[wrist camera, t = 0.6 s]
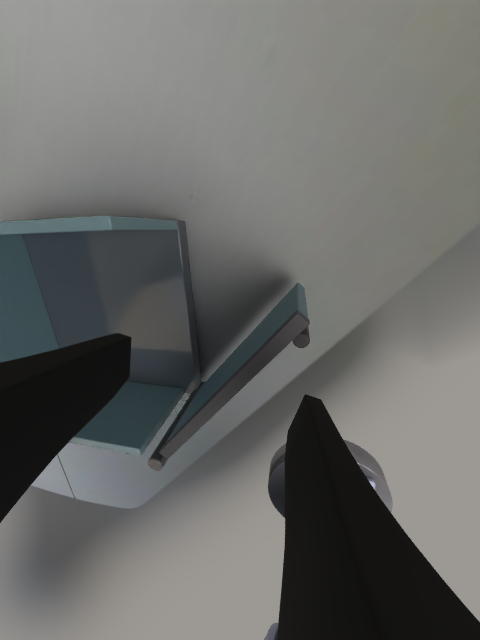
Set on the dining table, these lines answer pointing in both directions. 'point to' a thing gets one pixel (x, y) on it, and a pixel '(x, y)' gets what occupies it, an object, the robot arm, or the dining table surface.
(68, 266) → the light blue open box
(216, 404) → the blue flat panel
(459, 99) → the dining table surface
